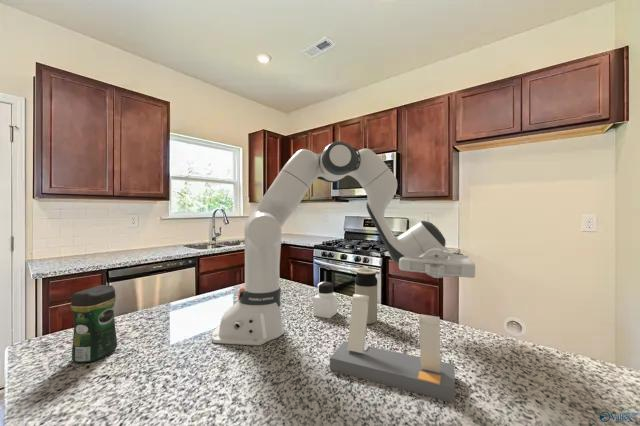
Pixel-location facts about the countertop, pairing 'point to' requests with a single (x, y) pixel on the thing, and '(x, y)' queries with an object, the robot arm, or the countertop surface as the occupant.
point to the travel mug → (368, 291)
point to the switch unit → (395, 371)
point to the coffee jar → (93, 323)
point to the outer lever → (430, 342)
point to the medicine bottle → (325, 301)
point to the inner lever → (358, 323)
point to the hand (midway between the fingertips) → (433, 271)
